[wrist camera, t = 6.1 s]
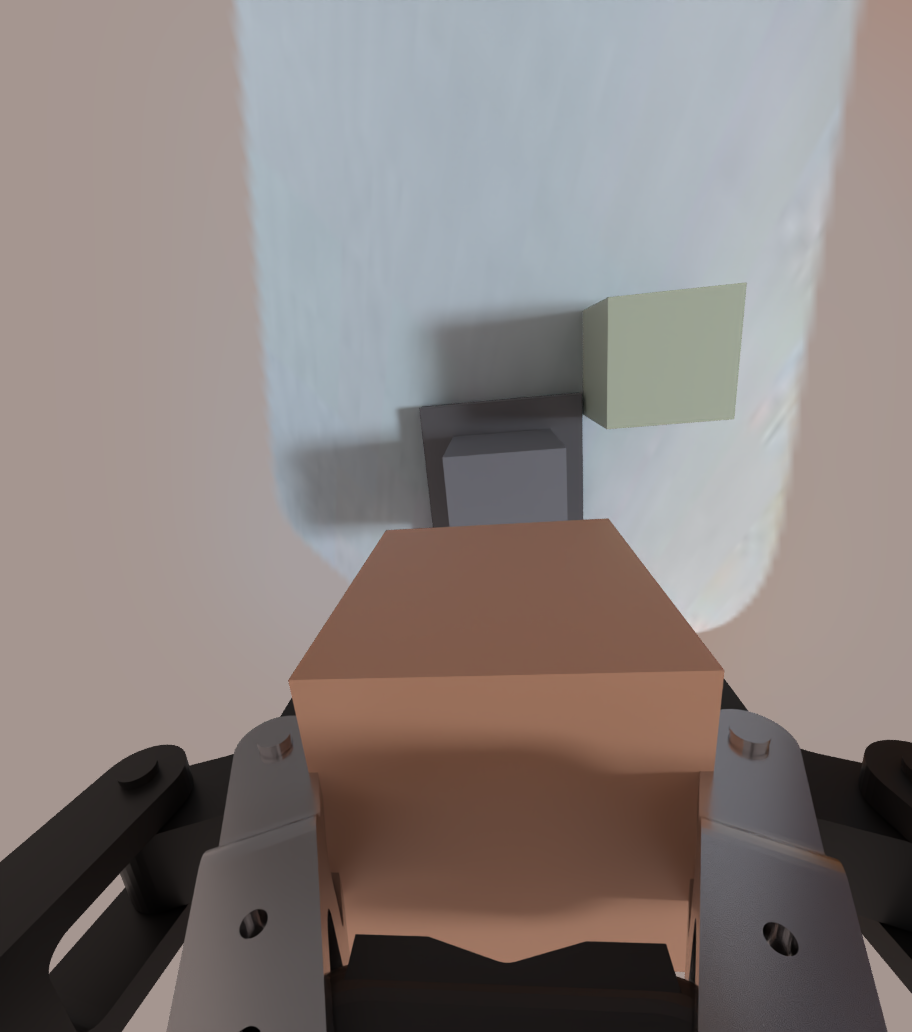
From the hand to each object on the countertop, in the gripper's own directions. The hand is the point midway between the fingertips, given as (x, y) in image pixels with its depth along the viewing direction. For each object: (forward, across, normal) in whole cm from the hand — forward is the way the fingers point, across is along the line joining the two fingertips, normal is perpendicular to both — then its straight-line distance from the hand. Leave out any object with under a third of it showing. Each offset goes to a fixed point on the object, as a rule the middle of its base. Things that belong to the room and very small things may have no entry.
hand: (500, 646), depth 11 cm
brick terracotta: (+1, 0, 0) cm, 1 cm away
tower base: (+18, 0, 0) cm, 18 cm away
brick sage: (+18, -8, -6) cm, 21 cm away
